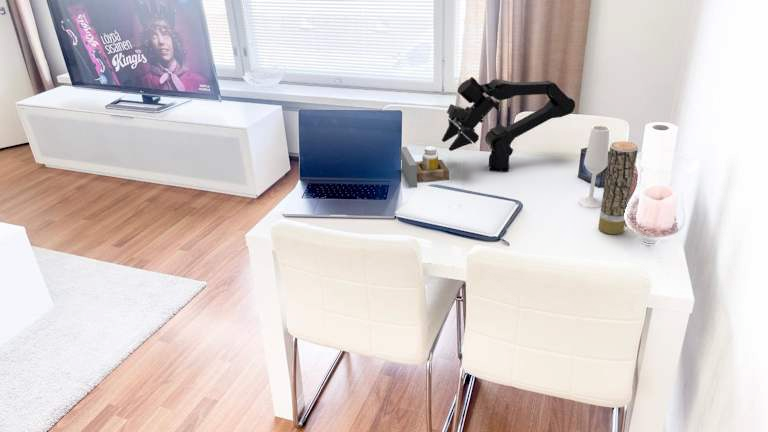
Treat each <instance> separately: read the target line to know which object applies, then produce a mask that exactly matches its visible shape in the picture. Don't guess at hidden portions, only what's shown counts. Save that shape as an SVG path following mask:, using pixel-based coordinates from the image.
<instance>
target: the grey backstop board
mask: <svg viewBox="0 0 768 432" xmlns="http://www.w3.org/2000/svg"><path fill="white" fill-rule="evenodd" d="M401 147H402V149H401V160H402V171H401V173H402V175H403V177H404V178H405V181H406V182H407V185H408V187H409V188H418V182H417V164H416V162H417V161H415V159H414V158H413V156H412V154H411V152H410V150H409V149H408V147H407V146H401Z"/></svg>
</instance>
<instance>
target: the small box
mask: <svg viewBox="0 0 768 432" xmlns="http://www.w3.org/2000/svg"><path fill="white" fill-rule="evenodd" d="M586 151H587V147H584V148H581V149H580V156H579V164H578V165H579V166H578V174H577V177H578V179H581V180H582V181H585V182H587V183H589V184H591V179H592V173H590V172H589V171H588V170H587V169H586V167H585V165H584V160H585V156H586ZM609 151H610V150H608V158H609ZM606 172H607V167H606V168H605V169H604V170H603V171H601V172H600V173H598V174H596V180H595V187H597V188H598V189H600V188H604V185H605V178H606Z"/></svg>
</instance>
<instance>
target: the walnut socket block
mask: <svg viewBox="0 0 768 432" xmlns="http://www.w3.org/2000/svg"><path fill="white" fill-rule="evenodd" d="M422 161H423V160H421V161H420V160H419V161H418V160H417V161H415V162H416V164H417V184H420V183H431V182H439V181H442V182H443V181H449V180H450V170H449V168H448V166H447V165H446V164H445V162H444V161H443V159H438V170H427V171H422Z"/></svg>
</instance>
